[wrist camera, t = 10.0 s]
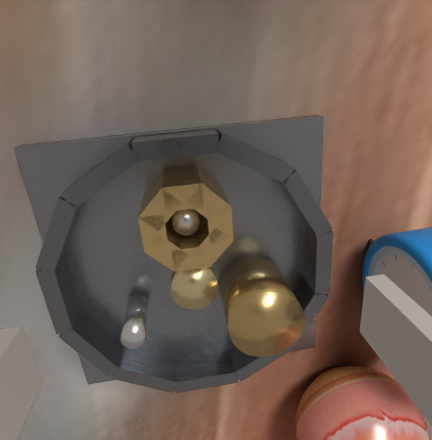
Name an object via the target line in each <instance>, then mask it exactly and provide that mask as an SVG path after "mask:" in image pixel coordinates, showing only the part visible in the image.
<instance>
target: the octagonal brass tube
mask: <svg viewBox="0 0 432 440" xmlns="http://www.w3.org/2000/svg"><path fill="white" fill-rule="evenodd" d="M188 209H195V210H196V211H198V216H199V221H200V225H199V228H198V229H197V231H196V232H195V233H193V234H191V235H181V234H179V233H177V232H176V231H175V230H174V228H173V224H172V215H173V214H174V213H175V211H179V210H188ZM138 220H139V226H140V231H141V237H142V242H143V248H144V252H145V253H146V254H148V255H149V256H151V257H152V258H154V259H156V260H157V261H159V262H160V263H162V264H163V265H165V266H166V267H168V268H169V269H171V270H173V271H174V272H175V271H183V270H190V269H198V268H205V267H210V266H211V265H212V264H213V263H214V262H215V261H216V260H217V259H218V258H219V256H220V255H221V254H222V253H223V252H224V251H225V250H226V249H227V248H228V246H229V245H230V244H231V243H232V242H233V241H234V240H233V224H232V209H231V205H230V203H229V201H228V199H227V197H226V195H225V193H224V191H223V189H222V187H221V185H220V184H219V183H218V182H217V181H216V180H214V179H213V178H212V177H211V176H209V175H208V174H207V173H206V172H204V171H203V170H202V169H201V168H199V167H198V166H197V165H187V166H178V167H169V168H163V170H162V171H161V172H160V174H159V175H158V176H157V177H156V179H155V180H154V181H153V182H152V184H151V185H150V186H149V187H148V189H147V190H146V191H145V193H144V196H143V200H142V204H141V208H140V212H139V215H138Z"/></svg>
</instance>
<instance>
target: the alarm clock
mask: <svg viewBox="0 0 432 440" xmlns="http://www.w3.org/2000/svg"><path fill="white" fill-rule="evenodd" d="M369 243H370V247H369V249H368V251H367V253H366V255H365V259H364V263H363V270H362V284H363V293H364V287H365V278H366V277H368V276H375V275H382V274H384V275H385V276H386V277H388V278H389V279H390V280H391V281H392V282H393V283H394V284H396V285H397V286H398V287H399V288H400V289H401V290H402V291H403V292H405V293H406V294H407V295H408V296H409V297H410V298H411V299H412V300H414V301H415V302H416V303H417V304H418V305H419V306H420V307H421V308H423V309H424V310H425V311H426V312H427V313H428V314H429V315H430V316H432V227H431V228H425V229H418V230H412V231H406V232H400V233H394V234H388V235H384V236H382V237H380V238H378V239H376V240H375V241H373V240H372V239H370V240H369Z"/></svg>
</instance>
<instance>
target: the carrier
mask: <svg viewBox="0 0 432 440" xmlns="http://www.w3.org/2000/svg"><path fill="white" fill-rule="evenodd" d="M323 118H324V116H318V115H313V116H304V117H294V118H284V119H274V120H264V121H254V122H244V123H234V124H225V125H215V126H205V127H195V128H185V129H175V130H165V131H155V132H146V133H136V134H126V135H116V136H106V137H96V138H86V139H76V140H67V141H57V142H47V143H37V144H27V145H21V146H18V147H15V148H14V150H15V153H16V156H17V159H18V162H19V166H20V169H21V172H22V175H23V178H24V182H25V185H26V188H27V191H28V194H29V197H30V201H31V204H32V207H33V210H34V213H35V217H36V220H37V223H38V226H39V229H40V232H41V236H42V239H43V242H44V243H43V246H42V250H41V253H40V256H39V259H38V262H37V265H36V268H38V269H37V270H36V274H37V277H38V280H39V283H40V286H41V289H42V292H43V295H44V298H45V301H46V304H47V307H48V310H49V313H50V316H51V319H52V322H53V325H54V328H55V331H56V334H59V333H60V335H59V337H60V338H61V339H62V340H63V341H65V342H66V343H67V344H68V345H70V346H71V347H72V348H73V349H74V350H76V351H77V352H78V353H79V356H80V360H81V363H82V366H83V369H84V372H85V376H86V379H87V382H88V384H93V383H99V382H105V381H111V380H120V381H125V382H129V383H133V384H138V385H142V386H146V387H151V388H155V389H159V390H163V391H168V392H172V393H173V392H174V390H175V388H176V393H178V392H184V391H190V390H196V389H202V388H208V387H214V386H220V385H226V384H232V383H237V382H238V378H239V379H240V381H242V380H244V379H246V378H247V377H249V376H250V375H252V374H254V373H255V372H257V371H258V370H260V369H262V368H263V367H265V366H266V365H268V364H270V363H271V362H273V361H275V360H276V359H278V358H279V357H281V356H283V355H284V354H286V353H287V352H290V351H296V350H302V349H308V348H314V347H315V328H316V315H317V313H318V312H319V310H320V308H321V307H322V305H323V304H324V302H325V301H326V299H327V298H328V295H327V294H328V293H330V276H331V258H332V240H333V232H332V231H331V229H332V228H331V226H330V224H329V223H328V221H327V219H326V218H325V216H324V214H323V213H322V211H321V209H320V197H321V171H322V145H323ZM187 165H197V166H198V167H199V168H201V169H202V170H203V171H204V172H206V173H207V174H208V175H209V176H211V177H212V178H213V179H214V180H216V181H217V182H218V183H219V184H220V185H221V187H222V189H223V191H224V193H225V195H226V197H227V199H228V201H229V203H230V205H231V209H232V224H233V240H234V241H233V242H232V243H231V244H230V245H229V246H228V248H227V249H226V250H225V251H224V252H223V253H222V254H221V255H220V256H219V258H218V259H217V260H216V261H215V262H214V263H213V264H212V265H211V266H210V267H205V268H198V269H190V270H183V271H175V272H174V271H173V270H171V269H169V268H168V267H166V266H165V265H163V264H162V263H160V262H159V261H157V260H156V259H154V258H152V257H151V256H149V255H148V254H146V253H145V252H144V248H143V242H142V237H141V231H140V226H139V220H138V215H139V212H140V208H141V204H142V200H143V196H144V193H145V191H146V190H147V189H148V187H149V186H150V185H151V184H152V182H153V181H154V180H155V179H156V177H157V176H158V175H159V174H160V172H161V171H162V170H163V168H169V167H178V166H187ZM172 224H173V228H174V230H175V231H176V232H177V233H179V234H181V235H191V234H193V233H195V232H196V231H197V229H198V228H199V225H200V221H199V216H198V211H196V210H195V209H188V210H179V211H175V213H174V214H173V215H172Z"/></svg>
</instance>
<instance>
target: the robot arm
mask: <svg viewBox="0 0 432 440" xmlns="http://www.w3.org/2000/svg"><path fill="white" fill-rule="evenodd" d="M360 333H361V334H362V336H363V337H364V338H365V340H366V341H367V342H368V343H369V345H370V346H371V347H372V349H373V350H374V351H375V353H376V354H377V355H378V357H379V358H380V359H381V361H382V362H383V363H384V364H385V366H386V367H387V368H388V370H389V371H390V372H391V374H392V375H393V376H394V378H395V379H396V380H397V381H398V383H399V384H400V385H401V387H402V388H403V389H404V391H405V392H406V393H407V395H408V396H409V397H410V399H411V400H412V401H413V402H414V404H415V405H416V406H417V408H418V409H419V410H420V412H421V413H422V414H423V415H424V417H425V418H426V419H427V421H428V422H429V423H430V425H431V426H432V316H430V315H429V314H428V313H427V312H426V311H425V310H424V309H423V308H421V307H420V306H419V305H418V304H417V303H416V302H415V301H414V300H412V299H411V298H410V297H409V296H408V295H407V294H406V293H405V292H403V291H402V290H401V289H400V288H399V287H398V286H397V285H396V284H394V283H393V282H392V281H391V280H390V279H389V278H388V277H386V276H385V275H384V274H382V275H375V276H368V277H366V278H365V287H364V296H363V306H362V315H361V324H360ZM42 383H43V380H42V378H41V375H40V373H39V370H38V367H37V365H36V362H35V360H34V357H33V355H32V352H31V349H30V347H29V344H28V342H27V339H26V337H25V334H24V331H23V329H22V326H18V327H11V328H4V329H0V440H18V437H19V435H20V433H21V430H22V428H23V426H24V424H25V421H26V419H27V417H28V415H29V412H30V410H31V408H32V405H33V403H34V401H35V399H36V396H37V394H38V392H39V389H40V387H41V385H42Z"/></svg>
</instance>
